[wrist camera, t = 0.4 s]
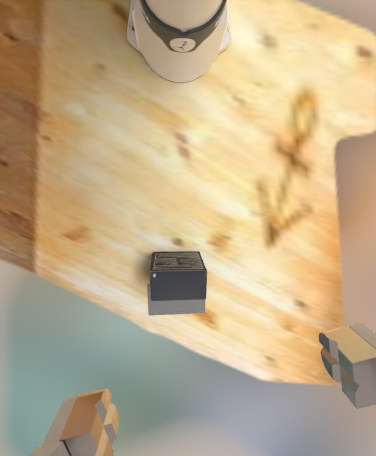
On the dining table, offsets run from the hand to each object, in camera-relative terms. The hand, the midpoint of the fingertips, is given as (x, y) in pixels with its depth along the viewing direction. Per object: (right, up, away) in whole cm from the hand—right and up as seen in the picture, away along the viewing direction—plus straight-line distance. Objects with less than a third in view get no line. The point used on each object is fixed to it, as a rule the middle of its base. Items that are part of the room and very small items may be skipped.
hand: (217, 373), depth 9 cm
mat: (-4, -11, +47) cm, 48 cm away
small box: (-4, -3, +45) cm, 45 cm away
